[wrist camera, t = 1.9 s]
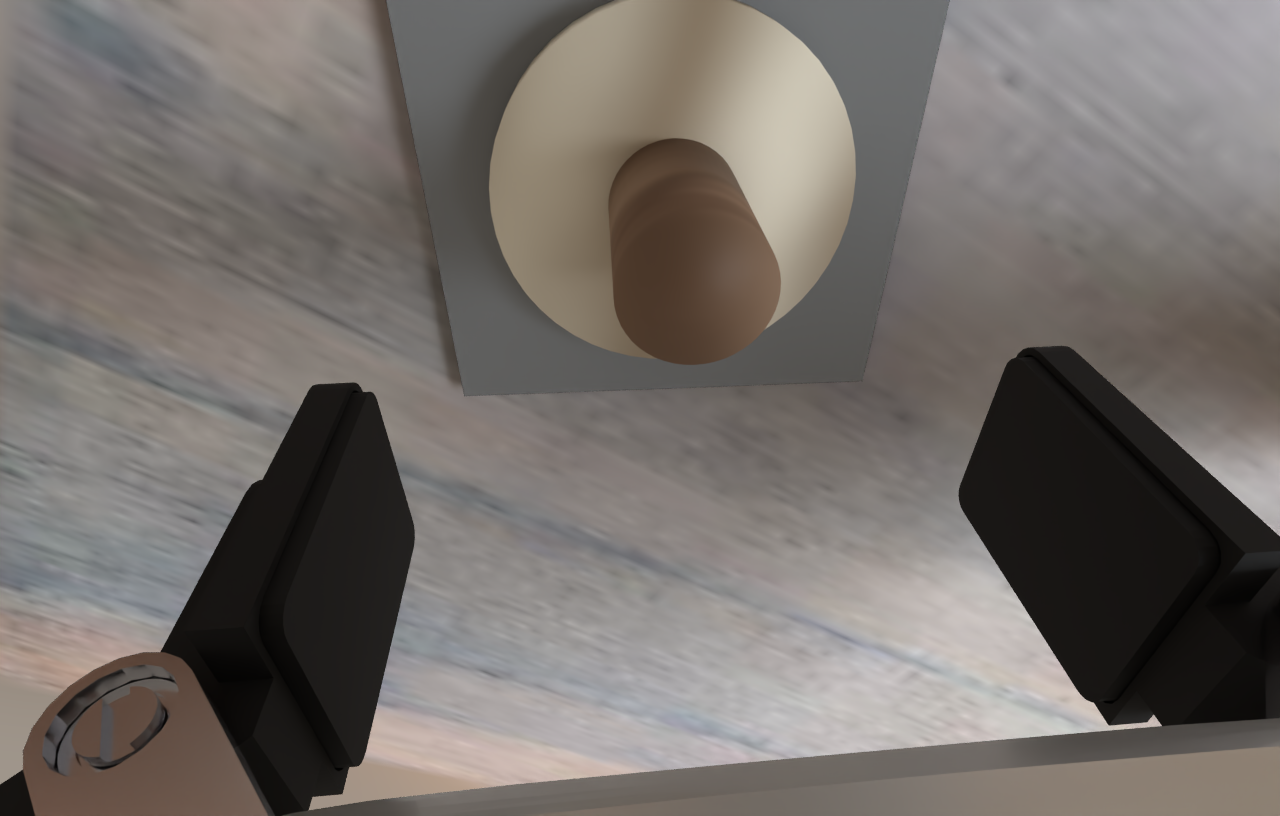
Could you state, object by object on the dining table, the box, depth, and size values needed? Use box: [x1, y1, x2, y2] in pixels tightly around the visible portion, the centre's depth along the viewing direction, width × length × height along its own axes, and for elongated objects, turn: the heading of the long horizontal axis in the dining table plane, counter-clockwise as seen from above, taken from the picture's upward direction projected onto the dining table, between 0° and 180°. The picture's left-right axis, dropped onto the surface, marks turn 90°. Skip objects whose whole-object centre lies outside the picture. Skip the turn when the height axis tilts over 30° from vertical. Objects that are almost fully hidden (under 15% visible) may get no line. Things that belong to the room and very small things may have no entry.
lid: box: [489, 0, 856, 365], centre depth 17 cm, size 10×10×6 cm
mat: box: [386, 0, 950, 396], centre depth 20 cm, size 14×14×1 cm
